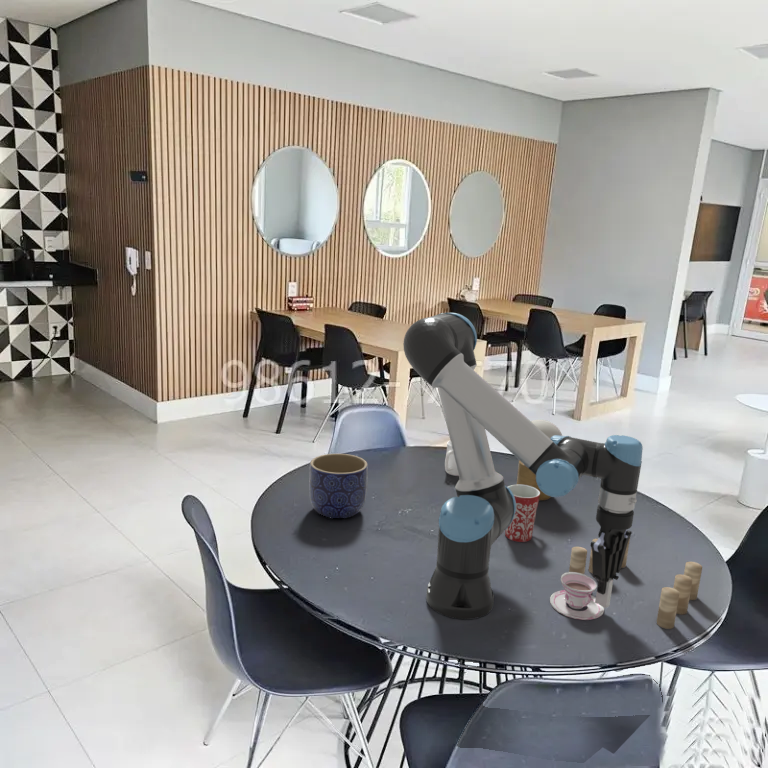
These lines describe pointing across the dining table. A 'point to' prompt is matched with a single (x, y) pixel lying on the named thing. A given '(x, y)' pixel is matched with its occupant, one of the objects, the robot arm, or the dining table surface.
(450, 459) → the cup
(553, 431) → the lamp
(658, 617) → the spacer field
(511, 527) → the mug
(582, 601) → the teacup
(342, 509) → the planter
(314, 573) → the dining table surface
